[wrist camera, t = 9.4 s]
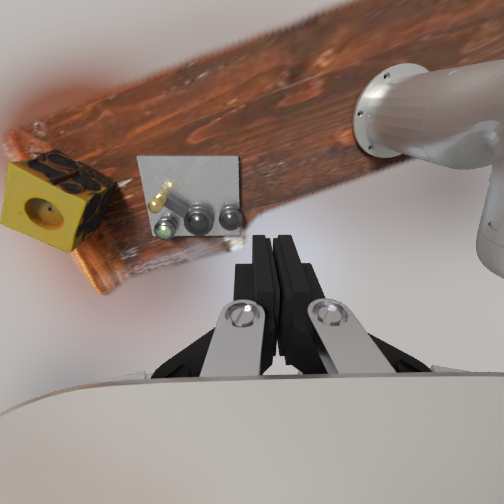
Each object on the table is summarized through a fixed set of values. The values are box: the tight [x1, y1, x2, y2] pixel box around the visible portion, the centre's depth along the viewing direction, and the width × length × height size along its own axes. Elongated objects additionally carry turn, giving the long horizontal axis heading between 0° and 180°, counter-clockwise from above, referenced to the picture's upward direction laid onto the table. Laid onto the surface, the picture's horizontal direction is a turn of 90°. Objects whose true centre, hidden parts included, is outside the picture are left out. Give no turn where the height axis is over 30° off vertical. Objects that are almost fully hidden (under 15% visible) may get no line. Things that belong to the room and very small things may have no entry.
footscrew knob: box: [147, 190, 214, 236], centre depth 42 cm, size 10×5×6 cm, turn 53°
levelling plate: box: [137, 154, 242, 240], centre depth 44 cm, size 16×14×4 cm
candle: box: [0, 149, 116, 253], centre depth 40 cm, size 10×10×10 cm
